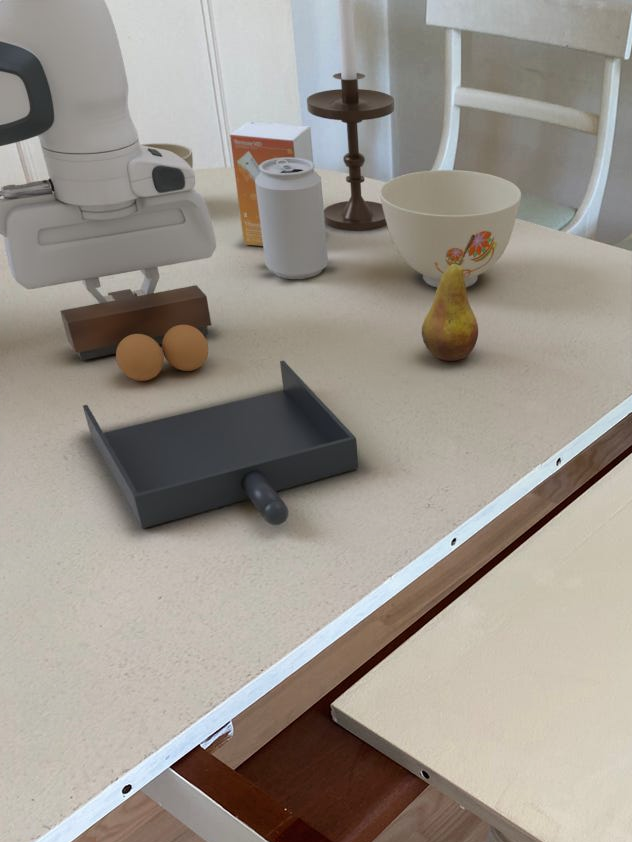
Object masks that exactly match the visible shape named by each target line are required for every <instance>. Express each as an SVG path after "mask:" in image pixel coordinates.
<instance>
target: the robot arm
mask: <svg viewBox="0 0 632 842" xmlns="http://www.w3.org/2000/svg"><path fill="white" fill-rule="evenodd" d="M115 27H116V26H115V24H114V21H113V18H112V14H111V11H110V10H109V7H108V5H107V2H106V1H105V0H0V147H3V146H8V145H12V144H15V143H19V142H22V141H26V140H29V139H32V138H35V137H38V139H39V143H40V147H41V151H42V155H43V158H44V162H45V167H46V170H47V174H48V177H49V178H48V179H43V180H36V181H31V182H27V183H22V184H8V185H7V184H6V185H4V186H1V187H0V234H1V235H2V237H3V242H4V248H5V253H6V258H7V263H8V267H9V271H10V273H11V275H12V277H13V279H14V281H15V282H16V283H17V284H19V285H20V286H21V287H23V288H25V289H26V290H35V289H42V288H46V287H53V286H57V285H64V284H69V283H74V282H75V283H76V282H80V281H81V282H82V284H83V286H84V287H85V289H86V290H87V291H88V292H89V293H90V295H91V296H92V297H93V298H94V299H95V300H96V301H97V302H98V303H104V302H109V301H114V300H115V299H113V297H112V295H109V296H108V295H104V294H102V293H101V292H100V290H99V288H101V286H102V285H101V281H100V278H103V277H109V276H115V275H121V274H127V273H131V272H132V273H133V272H137V271H140V272H141V274H142V275H143V276H144V278H143V281H142V284H141V287H140V289H137V290H133V293H134V295H135V296H141V295H147V294H152V293H155V290H156V288H157V285H158V282H159V280H160V273H159V268H160V267H165V266H171V265H172V266H173V265H177V264H183V263H189V262H194V261H200V260H205V259H210V258H211V257H213V255H214V253H215V251H216V249H217V239H216V234H215V230H214V225H213V221H212V218H211V215H210V211H209V208H208V205H207V203H206V201H205V199H204V198H203V196H202V194H200V193H199V191H197V190H196V189H195V186H196V176H195V171H194V170H193V168H191V167H190V165H189V164H188V163H187V162H186V161H185V160H183V159H182V158H181V157H179V156H178V155H176V154H175V153H173V152H171V151H168V150H164V149H158V148H153V147H148V146H143V145H141V143H140V139H139V134H138V131H137V128H136V126H135V124H134V122H133V120H132V117H131V113H130V111H129V83H128V76H127V72H126V67H125V63H124V58H123V53H122V50H121V46H120V42H119V38H118V33H117V30H116V28H115ZM1 197H2V198H1Z"/></svg>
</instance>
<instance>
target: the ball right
mask: <svg viewBox="0 0 632 842" xmlns="http://www.w3.org/2000/svg"><path fill="white" fill-rule="evenodd" d="M161 349H162V352H163V356H164V359H165V360H166V362H167V363H168V364H169V365H170V366H172V367H173V368H174V369H177V370H178V371H179V370H180V371H183V372H191V371H195V370H197V369H199V368H200V367H202V366H203V365H204V363H205V362H206V360H207V358H208V355H209V344H208V341H207V339H206V336H205V335H203V334H202V333H201V332H200V331H199V330H198V329H196V328H194V327H192V326H189V325H177V326H174V327H172V328H171V329H170V330H169V331H167V333H166V334H165V336H164V338H163V341H162V344H161Z"/></svg>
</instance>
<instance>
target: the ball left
mask: <svg viewBox="0 0 632 842" xmlns="http://www.w3.org/2000/svg"><path fill="white" fill-rule="evenodd" d="M115 359H116V363H117V366H118V368H119V369H120V371H121V372H122V373H123V374H124V375H125V376H127V377H128V378H129V379H131V380H134V381H140V382H144V381H150V380H152V379H154V378H155V377H157V376H158V375H159V374H160V372H161V371H162V369H163V366H164V363H165V356H164V354H163V350H162V346H160V344H158V343H157V342H156V341H155V340H154V339H152V338H151V337H149V336H147V335H143V334H132V335H129V336H127V337H125V338H124V339H123V340H122V341H121V342H120V343H119V345H118V347H117V350H116V353H115Z"/></svg>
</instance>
